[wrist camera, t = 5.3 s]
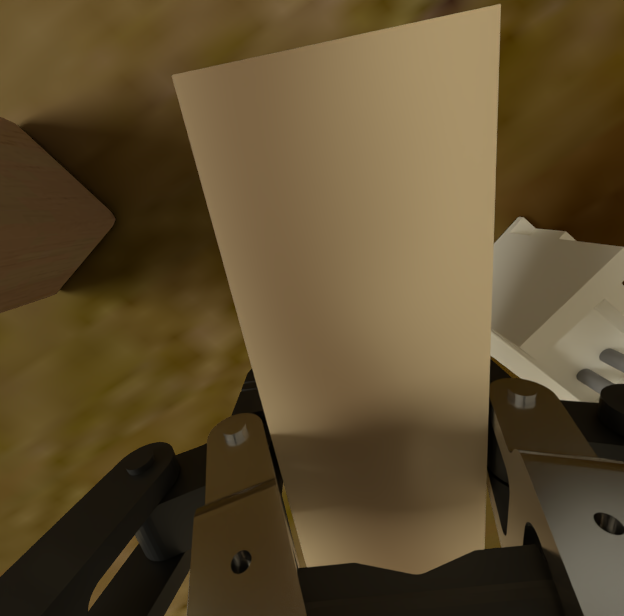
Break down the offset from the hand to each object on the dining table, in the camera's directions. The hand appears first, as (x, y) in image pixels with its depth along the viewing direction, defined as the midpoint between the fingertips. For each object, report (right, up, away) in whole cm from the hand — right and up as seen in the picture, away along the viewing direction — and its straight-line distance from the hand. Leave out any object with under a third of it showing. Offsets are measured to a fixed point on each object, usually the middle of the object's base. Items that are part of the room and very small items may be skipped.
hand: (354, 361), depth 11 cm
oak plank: (0, 0, 0) cm, 1 cm away
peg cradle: (+21, 0, +17) cm, 27 cm away
